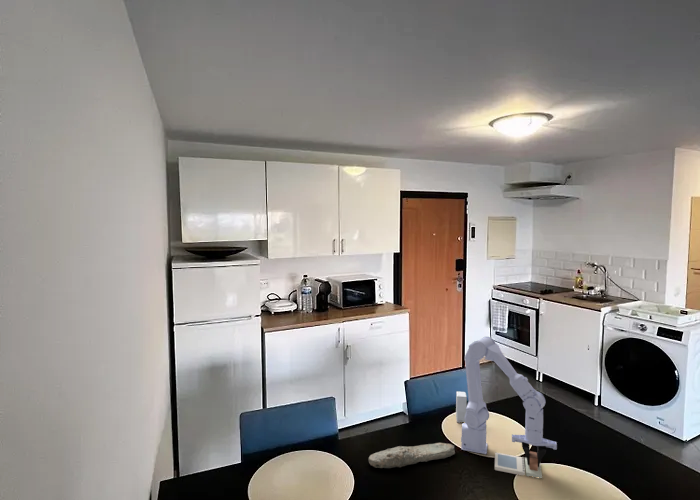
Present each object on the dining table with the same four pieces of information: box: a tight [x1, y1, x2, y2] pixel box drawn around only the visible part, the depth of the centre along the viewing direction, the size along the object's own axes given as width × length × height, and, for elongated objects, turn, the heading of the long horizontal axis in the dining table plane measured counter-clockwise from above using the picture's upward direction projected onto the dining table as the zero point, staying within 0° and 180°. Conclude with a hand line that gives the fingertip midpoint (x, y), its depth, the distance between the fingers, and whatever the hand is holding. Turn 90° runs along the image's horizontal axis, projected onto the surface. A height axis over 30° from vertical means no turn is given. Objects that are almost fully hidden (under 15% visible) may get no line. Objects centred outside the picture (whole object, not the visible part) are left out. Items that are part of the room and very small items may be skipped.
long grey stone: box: [368, 442, 456, 469], centre depth 149 cm, size 35×5×10 cm
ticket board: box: [494, 451, 526, 476], centre depth 144 cm, size 10×10×1 cm
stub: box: [524, 450, 543, 479], centre depth 142 cm, size 5×10×5 cm, turn 159°
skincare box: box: [455, 390, 468, 423], centre depth 179 cm, size 6×4×12 cm
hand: (533, 464), depth 142 cm, fingers closed on stub, 2 cm apart
